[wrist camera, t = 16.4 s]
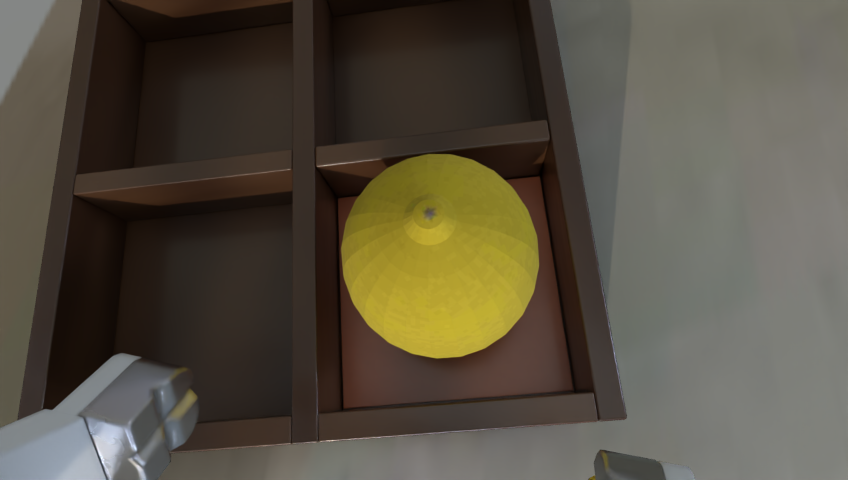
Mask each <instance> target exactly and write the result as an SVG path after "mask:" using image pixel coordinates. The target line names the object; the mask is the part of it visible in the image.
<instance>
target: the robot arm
mask: <svg viewBox="0 0 848 480" xmlns="http://www.w3.org/2000/svg"><path fill="white" fill-rule="evenodd" d="M193 383H194V377H193V373H192V370H191V369H189V368H186V367H183V366H178V365H174V364H170V363H165V362H161V361H157V360H152V359H148V358H144V357H138V356H134V355H129V354H125V353H120V354H117V355H114V356H112V357H111V358H110V359H109V360H108V361H106V362H105V363H104V364H103V365H102V366H101V367H100V368H99V369H98V370H96V371H95V372H94V373H93V374H92V375H91V376H90V377H89V378H87V379H86V380H85V381H84V382H83V383H82V384H81V385H80V386H79V387H77V388H76V389H75V390H74V391H73V392H72V393H71V394H70V395H69V396H67V397H66V398H65V399H64V400H63V401H62V402H61V403H60V404H59V405H57V406H56V407H55V408H54V409H53V410H49V409H44V410H41V411H39V412H37V413H34V414H32V415H30V416H27V417H25V418H22V419H20V420H18V421H15V422H13V423H10V424H8V425H6V426H3V427H1V428H0V480H157V479H158V478H159V477H160V475H161V474H162V473H163V471H164V470H165V469H166V467H167V466H168V465H169V463H170V462H171V450H173V449H175V448H177V447H178V446H180V445H182V444H184V443H185V442H186V441H187V439H188V438H189V436H190V435H191V434H192V432H193V430H194V428H195V425H196V423H197V420H198V418H199V410H200V404H199V399H198V396H197V395H196V394H195V393H194V392H193V391H192V390H191V389H190V386H191V385H192V384H193ZM594 469H595V476H593V477H591V478H589V479H588V480H695V478H694V475H693V472H692V471H691V470H690V468H689V467H687V466H682V465H677V464H672V463H667V462H662V461H656V460H653V459H648V458H643V457H637V456H632V455H627V454H622V453H616V452H611V451H606V450H600V451H599V452H598V453H597V455H596V458H595V461H594Z"/></svg>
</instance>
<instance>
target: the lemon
mask: <svg viewBox="0 0 848 480" xmlns="http://www.w3.org/2000/svg"><path fill="white" fill-rule="evenodd" d="M341 254H342V266H343V276H344V280H345V283H346V285H347V288H348V291H349V294H350V296H351V299H352V302H353V304H354V305H355V307H356V308H357V310H358V311H359V313H360V314H361V316H362V317H363V319H364V320H365V321H366V323H367V324H368V326H370V327H371V328H372V329H373V330H374V331H375V332H376V333H378V334H379V335H380V336H381V337H382V338H384V339H385V340H386V341H387V342H388V343H390V344H392V345H394V346H397V347H399V348H401V349H403V350H405V351H407V352H409V353H412V354H416V355H421V356H426V357H432V358H450V357H462V356H465V355H468V354H470V353H473V352H476V351H479V350H482V349H485V348H486V347H488V346H489V345H491V344H492V343H494V342H495V341H497V340H498V339H500V338H501V337H503V336H504V335H506V333H507V332H508V331H509V330H510V329H511V328H512V327H513V325H514V324H515V323H516V322H517V321H518V320H519V319H520V317H521V316H522V315H523V313H524V311H525V309H526V307H527V305H528V303H529V301H530V299H531V297H532V295H533V293H534V289H535V284H536V279H537V274H538V269H539V254H538V240H537V235H536V232H535V229H534V226H533V223H532V220H531V217H530V215H529V212H528V210H527V208H526V206H525V205H524V203H523V202H522V201H521V199H520V198H519V196H518V195H517V193H516V192H515V190H514V189H513V188H512V186H511V185H509V184H508V183H507V182H506V181H505V180H504V179H503V178H502V177H500V176H499V175H498V174H497V173H496V172H495V171H493V170H491V169H489V168H487V167H486V166H484V165H482V164H480V163H478V162H476V161H474V160H472V159H468V158H464V157H460V156H455V155H451V154H426V155H422V156H417V157H413V158H408V159H406V160H403V161H401V162H399V163H397V164H395V165H393V166H391V167H389V168H387V169H386V170H384V171H383V172H382V173H381V174H379V175H378V176H377V177H376V178H374V179H373V180H372V181H371V182H370V183H369V184H368V185H367V186H366V188H365V189H364V190H363V192H362V193H361V194H360V195H359V197H358V198H357V199H356V201H355V203H354V205H353V207H352V209H351V212H350V214H349V216H348V218H347V221H346V224H345V229H344V235H343V241H342V246H341Z"/></svg>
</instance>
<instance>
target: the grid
mask: <svg viewBox="0 0 848 480" xmlns="http://www.w3.org/2000/svg"><path fill="white" fill-rule="evenodd" d="M426 154H451V155H455V156H460V157H464V158H468V159H472V160H474V161H476V162H478V163H480V164H482V165H484V166H486V167H487V168H489V169H491V170H493V171H495V172H496V173H497V174H498V175H499V176H500V177H502V178H503V179H504V180H505V181H506V182H507V183H508V184H509V185H511V186H512V188H513V189H514V190H515V192H516V193H517V195H518V196H519V198H520V199H521V201H522V202H523V203H524V205H525V206H526V208H527V210H528V212H529V215H530V217H531V220H532V223H533V226H534V229H535V232H536V235H537V240H538V254H539V269H538V274H537V279H536V284H535V289H534V293H533V295H532V297H531V299H530V301H529V303H528V305H527V307H526V309H525V311H524V313H523V315H522V316H521V317H520V319H519V320H518V321H517V322H516V323H515V324H514V325H513V327H512V328H511V329H510V330H509V331H508V332H507V333H506V335H504V336H503V337H501V338H500V339H498V340H497V341H495V342H494V343H492V344H491V345H489V346H488V347H486V348H485V349H482V350H479V351H476V352H473V353H470V354H468V355H465V356H462V357H450V358H432V357H426V356H421V355H416V354H412V353H409V352H407V351H405V350H403V349H401V348H399V347H397V346H394V345H392V344H390V343H388V342H387V341H386V340H385V339H384V338H382V337H381V336H380V335H379V334H378V333H376V332H375V331H374V330H373V329H372V328H371V327H370V326H368V324H367V323H366V321H365V320H364V319H363V317H362V316H361V314H360V313H359V311H358V310H357V308H356V307H355V305H354V304H353V302H352V299H351V296H350V294H349V291H348V288H347V285H346V283H345V280H344V276H343V266H342V254H341V246H342V241H343V235H344V229H345V224H346V221H347V218H348V216H349V214H350V212H351V209H352V207H353V205H354V203H355V201H356V199H357V198H358V197H359V195H360V194H361V193H362V192H363V190H364V189H365V188H366V186H367V185H368V184H369V183H370V182H371V181H372V180H373V179H374V178H376V177H377V176H378V175H379V174H381V173H382V172H383V171H384V170H386V169H387V168H389V167H391V166H393V165H395V164H397V163H399V162H401V161H403V160H406V159H408V158H413V157H417V156H422V155H426ZM120 353H125V354H129V355H134V356H138V357H144V358H148V359H152V360H157V361H161V362H165V363H170V364H174V365H178V366H183V367H186V368H189V369H191V370H192V373H193V377H194V383H193V384H192V385H191V386H190V389H191V390H192V391H193V392H194V393H195V394H196V395H197V396H198V399H199V404H200V410H199V418H198V420H197V423H196V425H195V428H194V430H193V432H192V434H191V435H190V436H189V438H188V439H187V441H186V442H185V443H184V444H182V445H180V446H178V447H177V448H175V449H173V450H171V453H182V452H196V451H209V450H223V449H236V448H250V447H263V446H277V445H290V444H304V443H317V442H331V441H344V440H358V439H371V438H385V437H398V436H411V435H425V434H438V433H452V432H465V431H479V430H492V429H506V428H519V427H533V426H546V425H560V424H573V423H586V422H597V421H612V420H625V419H626V418H627V414H626V409H625V403H624V398H623V393H622V387H621V382H620V376H619V371H618V366H617V360H616V355H615V349H614V344H613V339H612V333H611V328H610V322H609V317H608V312H607V306H606V301H605V295H604V290H603V284H602V279H601V274H600V268H599V263H598V257H597V252H596V247H595V241H594V236H593V230H592V225H591V220H590V214H589V209H588V203H587V198H586V192H585V187H584V182H583V176H582V171H581V165H580V160H579V155H578V149H577V144H576V138H575V133H574V128H573V122H572V117H571V111H570V106H569V101H568V95H567V90H566V84H565V79H564V73H563V68H562V63H561V57H560V52H559V46H558V41H557V36H556V30H555V25H554V19H553V14H552V9H551V3H550V0H82V5H81V12H80V18H79V25H78V31H77V38H76V44H75V51H74V57H73V64H72V70H71V77H70V83H69V90H68V96H67V103H66V109H65V116H64V122H63V128H62V135H61V141H60V148H59V154H58V161H57V167H56V174H55V180H54V187H53V193H52V200H51V206H50V213H49V219H48V226H47V232H46V239H45V245H44V251H43V258H42V264H41V271H40V277H39V284H38V290H37V297H36V303H35V310H34V316H33V323H32V329H31V336H30V342H29V349H28V355H27V361H26V368H25V374H24V381H23V387H22V394H21V400H20V407H19V413H18V420H20V419H22V418H25V417H27V416H30V415H32V414H34V413H37V412H39V411H41V410H44V409H49V410H53V409H54V408H55V407H56V406H57V405H59V404H60V403H61V402H62V401H63V400H64V399H65V398H66V397H67V396H69V395H70V394H71V393H72V392H73V391H74V390H75V389H76V388H77V387H79V386H80V385H81V384H82V383H83V382H84V381H85V380H86V379H87V378H89V377H90V376H91V375H92V374H93V373H94V372H95V371H96V370H98V369H99V368H100V367H101V366H102V365H103V364H104V363H105V362H106V361H108V360H109V359H110V358H111V357H112V356H114V355H117V354H120ZM18 420H17V421H18Z"/></svg>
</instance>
